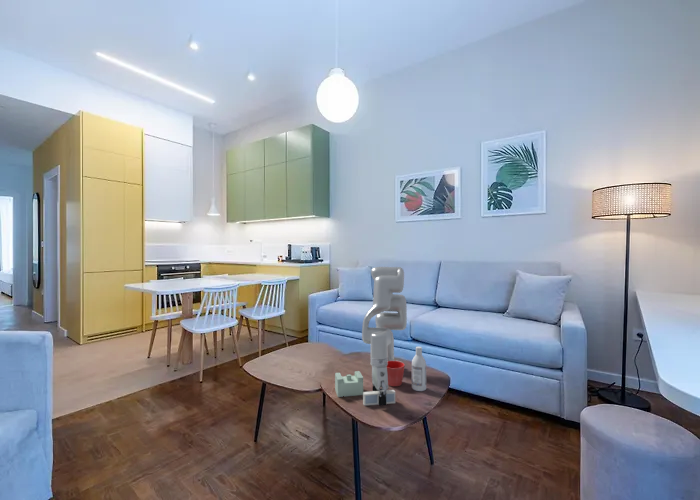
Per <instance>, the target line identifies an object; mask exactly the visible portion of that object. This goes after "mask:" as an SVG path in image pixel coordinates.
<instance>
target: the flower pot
mask: <svg viewBox="0 0 700 500" xmlns="http://www.w3.org/2000/svg"><path fill="white" fill-rule="evenodd" d="M399 361H400V360H398V361H396V360H395V361H388V365H387V374H388V387H400V386H402V384H403V378H404V375H405V373H404V372H405V365H406V364H405V363H404V362H403V361H402V362H399Z"/></svg>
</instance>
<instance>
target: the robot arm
mask: <svg viewBox="0 0 700 500" xmlns="http://www.w3.org/2000/svg"><path fill="white" fill-rule="evenodd" d="M370 274H371V277H372V279H373V295H372V296H373V297H372V298H373V299H372V306H371V307H370V308H369V309H368V311H367V312H366V314H365V315H364V317H363V320H362V329H361V339H362V342H363V343H364V344H366V345H370V366H371V382H372V391H379V404H378V406H379V407H382V406H387V404H386V390H389V385H388V374H387V365H388V361H399V362H402V363H403V360H397V359H396V360H395V338H394V333H393V331H404V330H405V329H407V321H408V317H407V316H408V315H407V310H408V309H407V299H406V297H405V295H403V294H399V293H402V292H403V290H404V288H405V287H404V285H405V272H404V268H402V267H400V266H399V267H398V266H375V267H373V268H371V271H370ZM374 317H375V327H373V326H372V327H370V326H369V324H370V321H371V319H372V318H374ZM381 391H383V392H381Z"/></svg>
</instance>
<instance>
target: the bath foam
mask: <svg viewBox="0 0 700 500" xmlns="http://www.w3.org/2000/svg"><path fill="white" fill-rule="evenodd" d="M411 389H412V390H413V391H417V392H424V391H426V390H427V361H426V359H425V358H424V356H423V348H422V346H416V347H415V355H414V356H413V358H412V360H411Z"/></svg>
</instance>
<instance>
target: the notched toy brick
mask: <svg viewBox="0 0 700 500" xmlns="http://www.w3.org/2000/svg"><path fill="white" fill-rule="evenodd" d="M334 390H335V393H336V397H337V398H340V397H341V398H342V397H343V396H344V397H352V396H353V397H354V396H363V392H364V376H363V375H362V373H361V371H359V370H357V371H354V375H352V374H346V375H345V376H342V374H341V372H335V374H334Z"/></svg>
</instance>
